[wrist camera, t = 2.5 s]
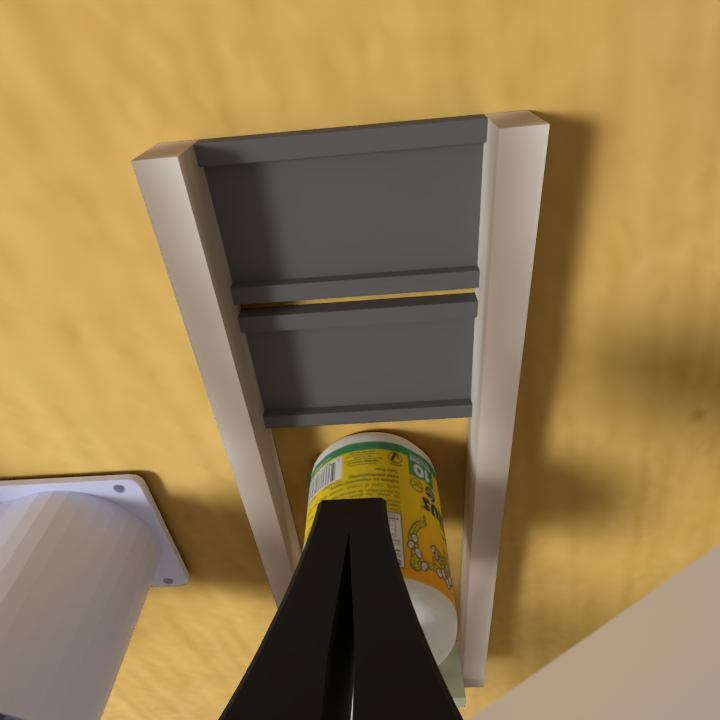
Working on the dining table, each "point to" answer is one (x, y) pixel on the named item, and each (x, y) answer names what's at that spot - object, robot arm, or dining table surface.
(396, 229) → the trap pits
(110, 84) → the dining table surface
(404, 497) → the supplement bottle
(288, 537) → the box
